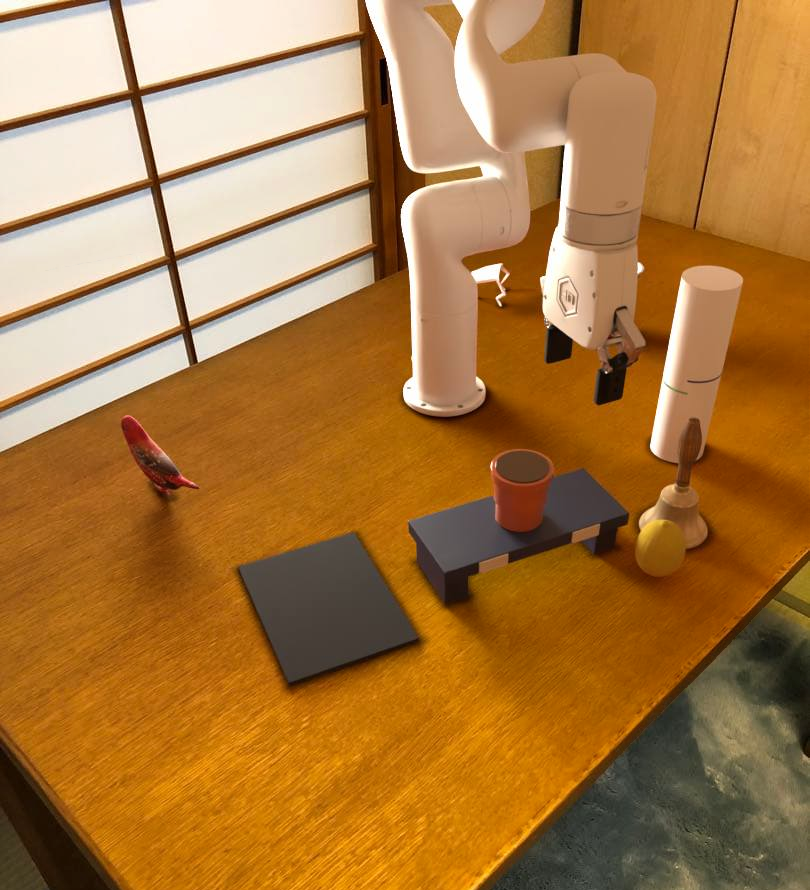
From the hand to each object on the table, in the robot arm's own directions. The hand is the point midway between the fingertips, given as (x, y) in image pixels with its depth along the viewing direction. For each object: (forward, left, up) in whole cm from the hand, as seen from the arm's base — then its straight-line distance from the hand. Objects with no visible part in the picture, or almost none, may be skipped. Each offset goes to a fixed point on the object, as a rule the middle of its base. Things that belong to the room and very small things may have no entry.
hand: (581, 380), depth 94 cm
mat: (-2, -31, -22) cm, 38 cm away
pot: (0, -7, -16) cm, 18 cm away
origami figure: (-64, +23, -23) cm, 72 cm away
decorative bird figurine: (-30, -43, -23) cm, 57 cm away
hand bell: (+4, +13, -23) cm, 27 cm away
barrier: (0, -7, -22) cm, 23 cm away
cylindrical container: (-10, +24, -23) cm, 35 cm away
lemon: (+10, +6, -23) cm, 25 cm away
